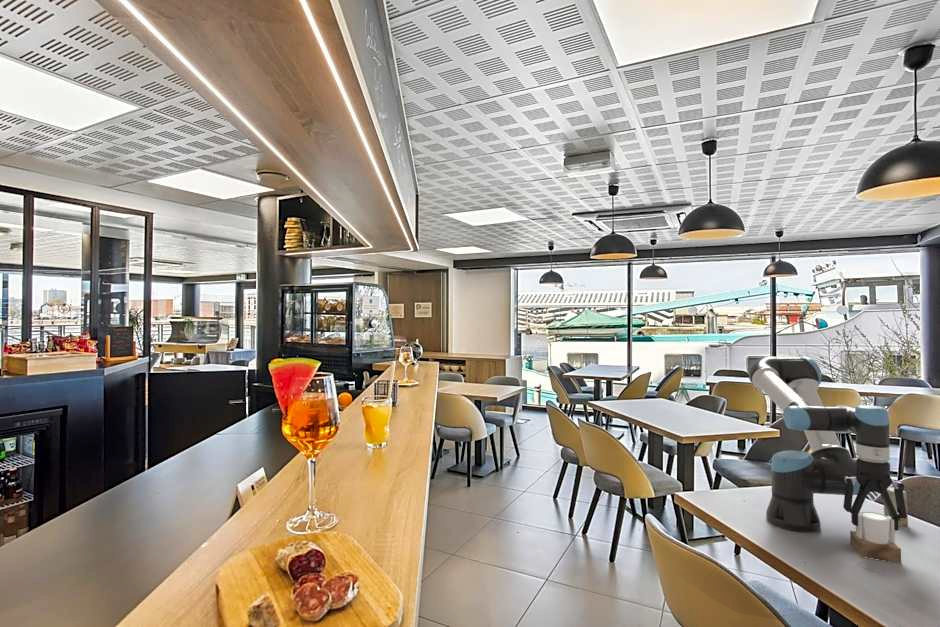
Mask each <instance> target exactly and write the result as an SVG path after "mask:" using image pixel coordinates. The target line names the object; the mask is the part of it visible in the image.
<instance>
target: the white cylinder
mask: <svg viewBox="0 0 940 627" xmlns="http://www.w3.org/2000/svg"><path fill="white" fill-rule="evenodd" d="M859 514H860V515H861V516H862V536H863V539H865V540H866V541H869V542H872V543H876V544H887V543H888V537H889V527H890V518H889V517H887V516H885V515H884V514H881V513H877V512H873V511H860V512H859Z"/></svg>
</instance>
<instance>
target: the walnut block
mask: <svg viewBox="0 0 940 627" xmlns="http://www.w3.org/2000/svg"><path fill="white" fill-rule="evenodd" d="M849 534H850V535H849V537H850V539H849V540H850V544H849V545H850V546H851V547H852V546H853V547H854V548H853V547H852V548H853V550H854V551H855V552H856V551H857V552H858V553H859V554H860V555H859V554H858V553H857V552H856V553H857V554H858V555H859V557H860V558H861V557H867V558H873V559H872V560H874V559H879V560H878V561H881V560H885V561H884V562H888V561H891V562H890V563H895V562H896V564H902V549H901V547H899V545H897V544H896V543H891V542H890V541H889V540H888V543H887V544H876V543H872V542H869V541H866V540H865V539H863V536H862V539H860V538H858V536H857V535H856V530H855V531H853V530H850V532H849ZM867 558H866V559H867Z"/></svg>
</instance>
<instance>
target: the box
mask: <svg viewBox="0 0 940 627" xmlns="http://www.w3.org/2000/svg"><path fill="white" fill-rule="evenodd" d="M887 492H888V494H889V497H890V499H891V501H892V504H893V506H894V508H895V510H896V512H897V505H896V499H895V493H894V488H893V487H890V486H889V487H888V488H887ZM903 496H904V502H905V508H906V515H907V518H905V519H904V518H900V520H899V521H898V526H904V525H907V526H909V518H908V497H907V496H908V495H907V492H906V491H905V490H903ZM883 513H884V514H883V515H885V516H890V514H889V511H888V509H887V507H886V505H885V503H884V502H883ZM890 517H891V516H890ZM907 526H906V527H907Z"/></svg>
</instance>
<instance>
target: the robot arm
mask: <svg viewBox="0 0 940 627" xmlns="http://www.w3.org/2000/svg"><path fill="white" fill-rule="evenodd" d="M821 374H822V370H821V368H820V365H819V364H818V363H817V362H816V361H815V360H814V359H813V358H810V357H809V356H800V355H799V356H764V357H761V358H758V359H757V360H755V361H754V362H753V363H752V364H751V365H750V367H749V369H748V379H749V381H750V383H751V385H753V386H754V387H755V388H756V390H759V391H762V392H763V393H764V394H765V395H766V396H767V397H768V398H769V399H770V400H771V401H772V402H773V403H774V404H775V405H776V406H777V407H778V408H779V409H780V410H781V411H782V420H783V422H784V425H785V427H786V428H788V430H789V429H790V430H793V431H794V430H795V431H801V432H802V431H803V432H804V434H805V437H806V439H807V442H808V445H809V447H810V450H811V452H806V451H803V450H783V451H777V452H776V453H774V454H773V455H772V457H771V464H770V470H771V471H770V473H771V497H770V501H769V503H768V506H767V509H766V512H765V517H766V520H767V521H768V523H770V524H771V525H773V526H776V527H779V528H781V529H784V530H788V531H793V532H796V533H797V532H798V533H816V532H819V531H821V520H820V517H819V514H818V511H817V508H816V506H815V504H814V503H815V502H814V494H816V495H817V494H820V495H821V494H822V495H837V496H844V498H843V509H844V510H845V511H846V512H847V513H850V516H851V523H852V525H853V526H855V532H856V535H857V536H858V538H860V539H862V516H861V515H860V514H859V513H860V512H861V509H862V507H863V505H864V502H865V500H866V498H867V496H868V495H869V493H874V492H875V493H877V494H880V495H881V498H882V501H883V504H884V503H885V505H886V507H887V509H888V511H889V514H890V516H891V517H890V516H887V517H889V518H890V527H889V537H888V540H889V541H890V542H891V543H895V542H896V541H895V540H896V538H895V536H896V534H895V531H896V532H898V531H899V525H898V521H899V520H900V518H904V519H905V518H907V515H906V508H905V502H904V496H903V491H905V490H904V489H905V484H904V483H903V482H901V481H899V480H894V479H892V478H891V463H890V462H889V461H890V459H891V458H890V456H891V455H890V419H889V410H888V409H887V408H886V407H883V406H880V405H879V406H878V405H870V404H860V405H856V407H854V406H851V405H844V404H843V405H841V404H840V405H837V406H824V403H823V402H822V400H821V397H820V395H819V393H818V390H819V388H820V384H821V383H822V377H823V376H822V375H821ZM836 432H848V433H852V434H855V448H856V450H855V451H856V452H855V453H856V454H855V455H856V458H855V457H852V455H851V452H850V451H849V449H847V448H846V447H843V446H841V443H840V441H839V438H838V436H837V434H836ZM891 485H892V487H893V488H894V493H895V499H896V505H897V512H896V510H895V508H894V506H893V504H892V501H891V499H890V497H889V494H888V492H887V488H888V487H890V486H891ZM853 496H856V497H855V499H854V501H853ZM895 544H896V543H895Z"/></svg>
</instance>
